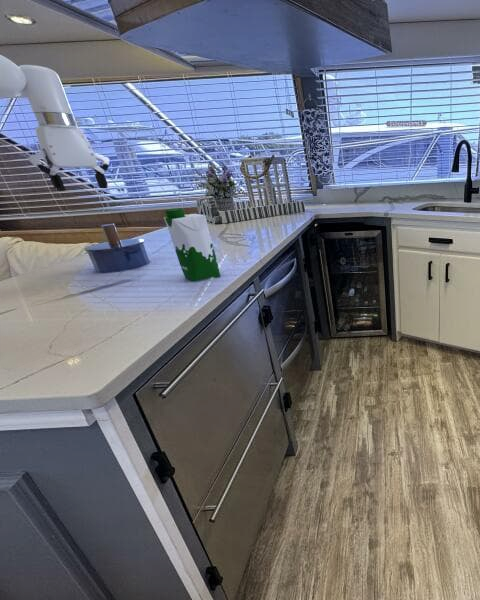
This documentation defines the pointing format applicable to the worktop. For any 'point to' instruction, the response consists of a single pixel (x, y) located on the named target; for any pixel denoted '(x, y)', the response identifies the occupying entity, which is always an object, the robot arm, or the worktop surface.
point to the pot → (119, 259)
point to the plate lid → (113, 241)
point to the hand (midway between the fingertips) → (83, 189)
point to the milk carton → (192, 244)
